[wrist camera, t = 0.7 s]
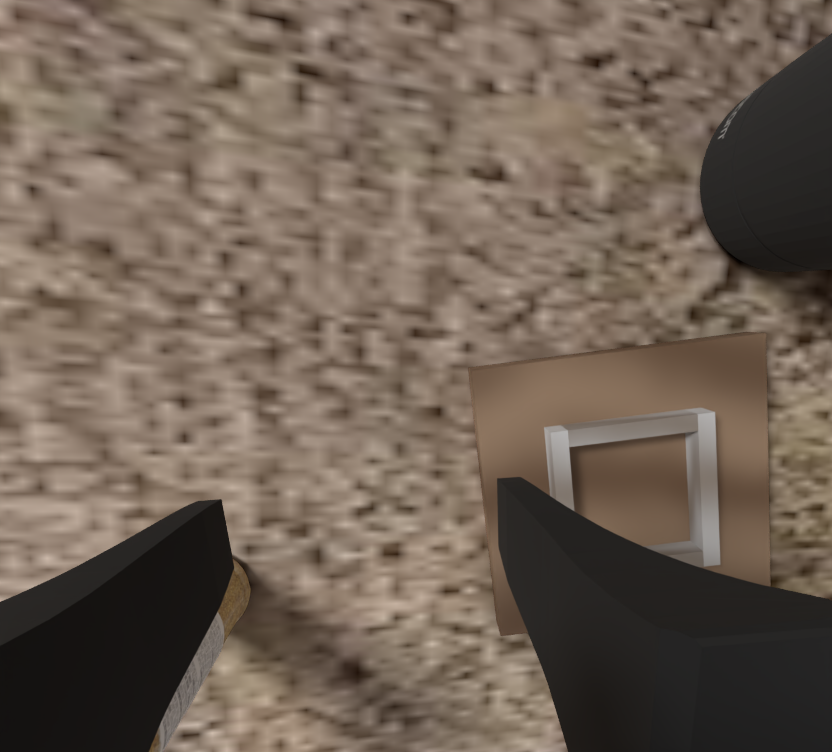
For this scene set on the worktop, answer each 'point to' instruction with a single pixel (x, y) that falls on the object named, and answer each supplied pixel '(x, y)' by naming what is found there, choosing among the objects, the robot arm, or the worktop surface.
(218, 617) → the sprinkles bottle
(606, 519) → the walnut board
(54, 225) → the worktop surface
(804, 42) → the worktop surface
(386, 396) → the worktop surface
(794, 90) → the pen holder
